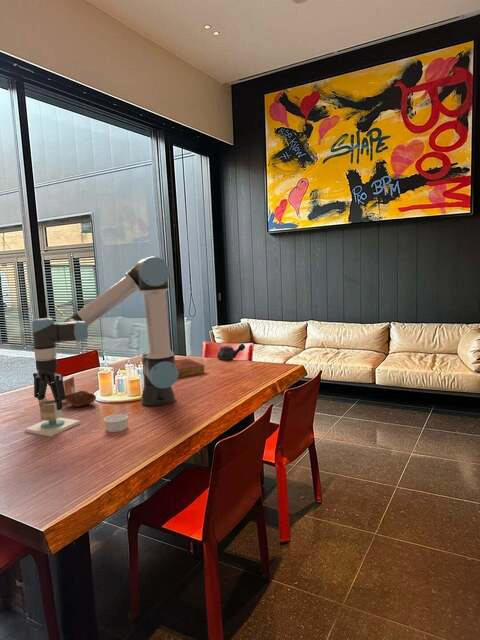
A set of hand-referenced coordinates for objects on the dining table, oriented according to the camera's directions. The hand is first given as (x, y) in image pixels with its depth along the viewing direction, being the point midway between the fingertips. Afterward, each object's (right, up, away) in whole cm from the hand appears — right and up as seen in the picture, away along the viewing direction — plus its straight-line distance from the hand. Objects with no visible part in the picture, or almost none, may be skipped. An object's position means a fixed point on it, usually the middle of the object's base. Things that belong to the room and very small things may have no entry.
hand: (51, 416), depth 167 cm
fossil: (+2, -2, +26) cm, 26 cm away
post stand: (0, -5, +1) cm, 5 cm away
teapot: (+68, +12, +111) cm, 130 cm away
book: (+35, +6, +80) cm, 87 cm away
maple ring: (0, 0, 0) cm, 0 cm away
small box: (-9, -1, +36) cm, 37 cm away
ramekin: (+26, -4, -3) cm, 27 cm away
